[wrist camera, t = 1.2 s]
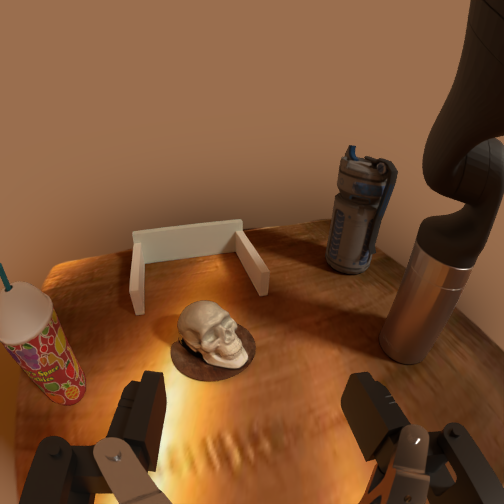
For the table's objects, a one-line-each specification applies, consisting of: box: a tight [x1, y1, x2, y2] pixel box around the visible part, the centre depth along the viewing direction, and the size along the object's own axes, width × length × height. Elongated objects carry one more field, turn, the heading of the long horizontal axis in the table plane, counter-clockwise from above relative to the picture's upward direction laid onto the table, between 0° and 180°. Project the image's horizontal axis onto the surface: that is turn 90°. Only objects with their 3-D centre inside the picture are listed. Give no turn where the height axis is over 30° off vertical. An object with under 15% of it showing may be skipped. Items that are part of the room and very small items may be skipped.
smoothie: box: [0, 263, 86, 405], centre depth 22 cm, size 8×8×20 cm
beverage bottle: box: [325, 145, 398, 274], centre depth 51 cm, size 10×13×25 cm
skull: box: [171, 300, 256, 381], centre depth 36 cm, size 12×10×10 cm
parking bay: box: [129, 219, 270, 315], centre depth 50 cm, size 23×18×7 cm
